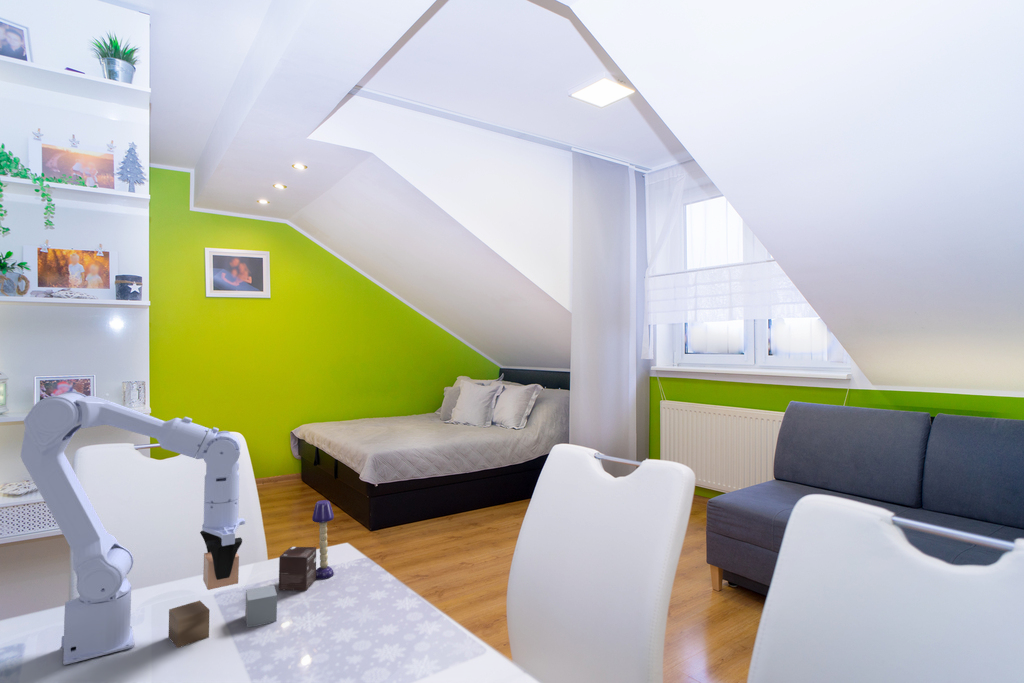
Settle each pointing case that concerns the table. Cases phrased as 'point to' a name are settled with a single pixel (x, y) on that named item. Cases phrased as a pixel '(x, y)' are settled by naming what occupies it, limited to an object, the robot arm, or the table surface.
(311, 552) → the box
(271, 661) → the table surface
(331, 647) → the table surface
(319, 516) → the toy lamp
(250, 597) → the slate block
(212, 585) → the terracotta block
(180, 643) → the walnut block
